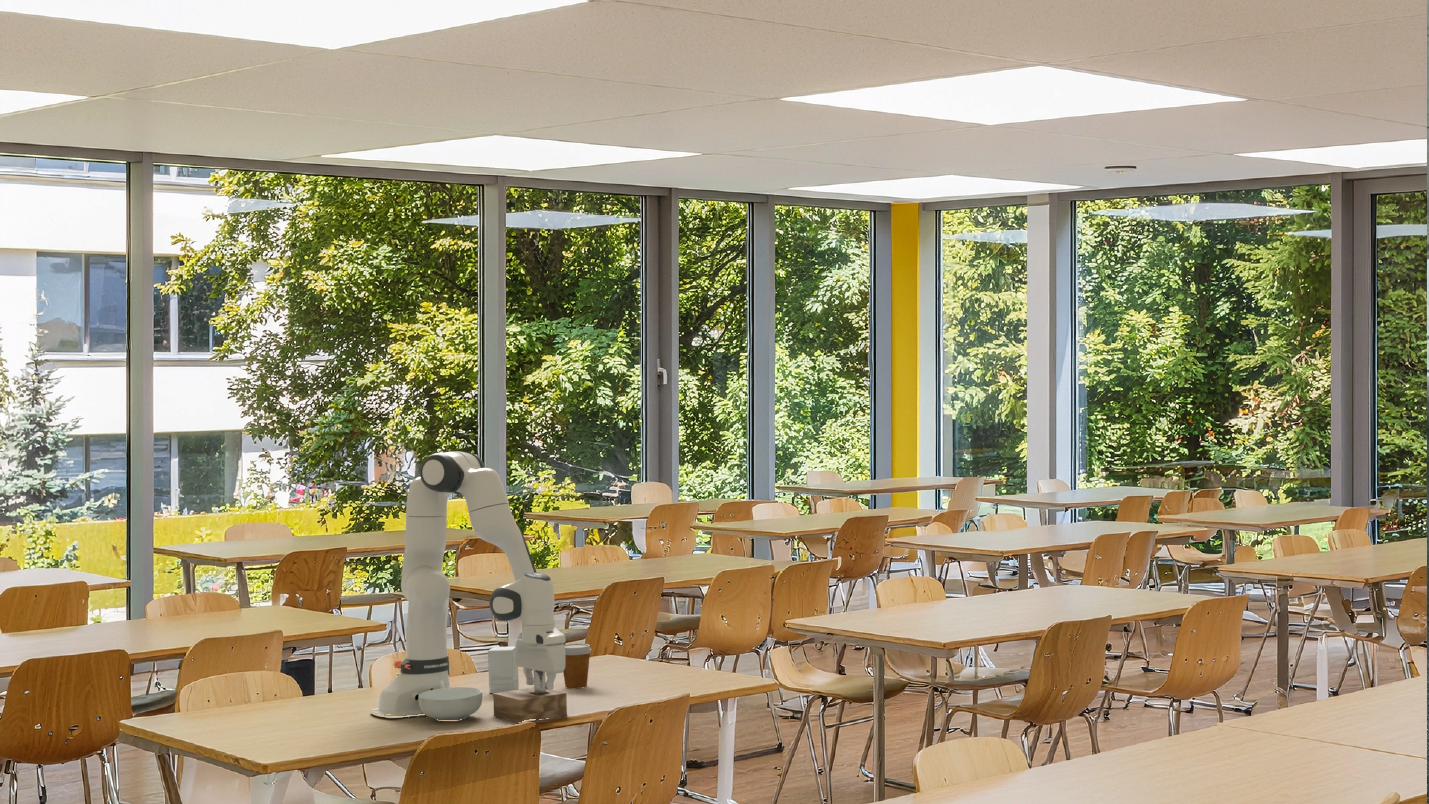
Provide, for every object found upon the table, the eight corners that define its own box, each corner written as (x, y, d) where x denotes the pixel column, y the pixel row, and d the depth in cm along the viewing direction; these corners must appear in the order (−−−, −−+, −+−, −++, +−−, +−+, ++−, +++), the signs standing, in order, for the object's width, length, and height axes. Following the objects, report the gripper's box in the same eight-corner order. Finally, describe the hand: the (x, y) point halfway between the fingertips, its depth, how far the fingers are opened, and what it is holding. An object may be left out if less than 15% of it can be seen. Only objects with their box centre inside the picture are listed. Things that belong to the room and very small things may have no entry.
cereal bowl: (414, 716, 396) (413, 690, 396) (475, 710, 402) (475, 684, 402) (425, 728, 380) (424, 700, 380) (489, 721, 386) (488, 694, 386)
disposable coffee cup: (590, 689, 431) (589, 647, 431) (557, 690, 431) (556, 648, 431) (593, 683, 440) (592, 643, 440) (562, 684, 440) (560, 643, 440)
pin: (538, 709, 390) (537, 671, 390) (532, 708, 392) (531, 670, 393) (548, 708, 392) (547, 670, 392) (542, 706, 394) (541, 669, 394)
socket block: (520, 723, 382) (520, 700, 383) (493, 716, 393) (493, 693, 394) (567, 715, 391) (566, 693, 391) (539, 708, 402) (538, 686, 402)
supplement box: (519, 689, 434) (518, 645, 434) (513, 693, 427) (512, 649, 427) (494, 689, 435) (493, 646, 435) (488, 694, 427) (487, 650, 428)
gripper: (508, 632, 399) (509, 683, 398) (548, 639, 382) (549, 693, 382) (528, 629, 402) (529, 680, 402) (569, 636, 386) (570, 690, 386)
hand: (539, 686), depth 392 cm, fingers open, 8 cm apart
